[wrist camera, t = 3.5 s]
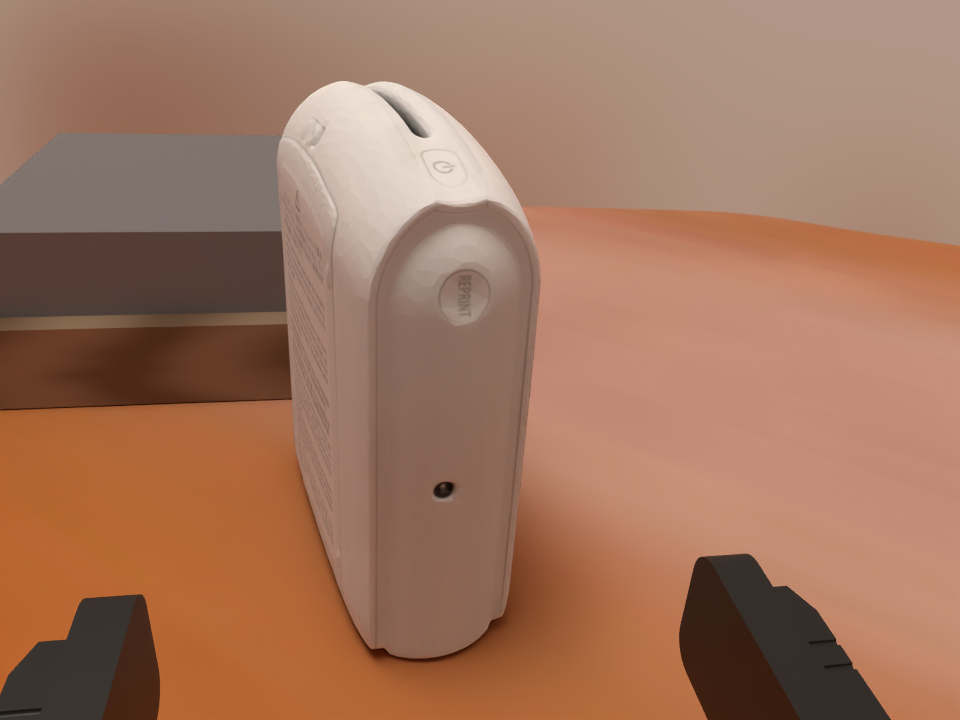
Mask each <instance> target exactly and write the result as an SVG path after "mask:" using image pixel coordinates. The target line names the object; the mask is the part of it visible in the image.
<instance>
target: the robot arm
mask: <svg viewBox="0 0 960 720" xmlns="http://www.w3.org/2000/svg"><path fill="white" fill-rule="evenodd" d="M679 643H680V652H681V657H682V661H683V665H684V668H685V670H686V673H687V675H688V677H689V680H690V682H691V684H692V686H693V688H694V691H695V693H696V695H697V697H698V699H699V701H700V704H701V706H702V708H703V710H704V712H705V715H706V717H707V719H708V720H891V719H890V718H889V716H888V715H887V713H886V712H885V710H884V709H883V707H882V706H881V704H880V703H879V701H878V700H877V699H876V697H875V696H874V694H873V693H872V691H871V690H870V688H869V687H868V685H867V684H866V682H865V681H864V679H863V678H862V676H861V675H860V673H859V672H858V671H857V669H853V667H852V662H851V660H850V659H849V657H848V656H847V654H846V653H845V651H844V650H843V648H842V647H841V645H837V643H836V638H835V637H834V635H833V634H832V632H831V631H830V629H829V628H828V626H827V625H826V623H825V622H824V620H823V619H822V617H821V616H820V615H819V613H818V612H817V610H816V609H814V608H813V607H812V606H811V605H810V604H808V603H807V602H806V601H805V600H803V599H802V598H801V597H800V596H799V595H797V594H796V593H795V592H794V591H792V590H791V589H790V588H789V587H787V586H779V587H773V586H772V585H771V583H770V581H769V580H768V578H767V577H766V575H765V574H764V572H763V570H762V569H761V567H760V566H759V564H758V563H757V561H756V560H755V559H754V558H753V557H752V556H751V555H749V554H735V555H721V556H706V557H700V558H698V560H697V561H696V563H695V565H694V569H693V573H692V578H691V582H690V586H689V591H688V595H687V599H686V604H685V608H684V612H683V617H682V621H681V625H680V632H679ZM159 699H160V677H159V669H158V663H157V658H156V653H155V647H154V642H153V637H152V632H151V626H150V621H149V616H148V611H147V605H146V601H145V598H144V597H143V595H141V594H139V595H125V596H110V597H96V598H85V599H83V600H82V601H81V603H80V604H79V606H78V609H77V611H76V614H75V617H74V620H73V623H72V625H71V628H70V631H69V634H68V637H67V639H66V640H56V641H44V642H38V643H37V644H36V645H35V646H34V648H33V649H32V650H31V651H30V652H29V653H28V654H27V655H26V656H25V657H24V659H23V660H22V661H21V662H20V663H19V664H18V665H17V666H16V667H15V669H14V670H13V671H12V672H11V673H10V674H9V675H8V678H7V680H6V682H5V685H4V687H3V690H2V692H1V694H0V720H157V716H158V710H159Z"/></svg>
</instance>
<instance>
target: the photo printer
mask: <svg viewBox="0 0 960 720" xmlns="http://www.w3.org/2000/svg"><path fill="white" fill-rule="evenodd" d="M277 176H278V190H279V204H280V217H281V230H282V244H283V258H284V275H285V291H286V307H287V324H288V340H289V357H290V374H291V392H292V409H293V427H294V442H295V448H296V454H297V458H298V462H299V466H300V470H301V473H302V477H303V481H304V487H305V489H306V491H307V494H308V497H309V500H310V504H311V507H312V510H313V513H314V516H315V519H316V523H317V526H318V529H319V532H320V535H321V538H322V541H323V544H324V547H325V550H326V553H327V556H328V559H329V561H330V564H331V567H332V570H333V572H334V575H335V578H336V581H337V584H338V587H339V589H340V592H341V594H342V597H343V599H344V602H345V604H346V607H347V609H348V611H349V614H350V616H351V618H352V620H353V622H354V624H355V626H356V628H357V630H358V631H359V633H360V635H361V636H362V638H363V640H364V641H365V643H366V644H367V645H368V646H369V647H370V648H371V649H378V648H385V650H386V651H387V652H388V653H389V654H391V655H394V656H397V657H404V658H416V659H418V658H432V657H439V656H444V655H447V654H451V653H453V652H456V651H458V650H461V649H463V648H465V647H467V646H468V645H470V644H472V643H473V642H474V641H476V640H477V639H478V638H480V637H481V636H482V635H483V634H484V633H485V631H486V630H487V629H488V626H489V623H490V621H491V620H493V619H497V618H499V617H501V616H502V615H503V613H504V610H505V607H506V603H507V598H508V593H509V586H510V579H511V567H512V560H513V552H514V543H515V532H516V523H517V513H518V503H519V495H520V486H521V475H522V466H523V455H524V446H525V437H526V427H527V417H528V407H529V398H530V389H531V378H532V368H533V360H534V349H535V337H536V325H537V315H538V305H539V294H540V283H541V280H540V262H539V258H538V253H537V249H536V245H535V242H534V238H533V235H532V232H531V229H530V227H529V224H528V221H527V219H526V217H525V214H524V212H523V210H522V207H521V205H520V204H519V201H518V200H517V198H516V196H515V194H514V192H513V190H512V189H511V187H510V185H509V184H508V182H507V181H506V180H505V178H504V176H503V175H502V173H501V172H500V170H499V168H498V167H497V166H496V165H495V163H494V162H493V161H492V159H491V158H490V157H489V155H488V154H487V153H486V152H485V150H484V149H483V148H482V147H481V145H480V144H479V143H478V142H477V141H476V140H475V138H474V137H473V136H472V135H471V134H470V133H469V132H468V131H467V130H466V129H465V128H464V127H463V126H462V125H461V124H460V123H459V122H458V121H456V120H455V119H454V118H453V117H452V116H451V115H450V114H448V113H447V112H446V111H445V110H443V109H442V108H441V107H439V106H438V105H437V104H435V103H434V102H432V101H431V100H429V99H428V98H426V97H424V96H423V95H421V94H419V93H417V92H415V91H413V90H411V89H409V88H406V87H404V86H402V85H400V84H396V83H391V82H376V83H372V84H369V85H366V86H362V85H359V84H356V83H352V82H347V81H340V82H335V83H332V84H329V85H327V86H325V87H323V88H321V89H319V90H318V91H316V92H314V93H313V94H311V95H310V96H309V97H308V98H307V99H306V100H305V101H304V102H303V103H302V104H301V105H300V106H299V107H298V108H297V109H296V111H295V112H294V113H293V115H292V117H291V118H290V120H289V122H288V124H287V125H286V128H285V130H284V132H283V135H282V138H281V140H280V142H279V147H278V152H277Z"/></svg>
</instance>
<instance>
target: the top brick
mask: <svg viewBox="0 0 960 720" xmlns="http://www.w3.org/2000/svg"><path fill="white" fill-rule="evenodd" d="M281 138H282V136H266V135H265V136H263V135H262V136H261V135H186V134H184V135H183V134H182V135H181V134H107V133H105V134H103V133H59V134H57V135H56V136H55V137H54V138H53V139H52V140H51V141H50V142H48V143H47V144H46V145H45V146H44V147H43V148H42V149H40V150H39V151H38V152H37V153H36V154H35V155H34V156H32V157H31V158H30V159H29V160H28V161H27V162H26V163H25V164H23V165H22V166H21V167H20V168H19V169H18V170H17V171H15V172H14V173H13V174H12V175H11V176H10V177H9V178H8V179H6V180H5V181H4V182H3V183H2V184H1V185H0V318H4V317H52V316H100V315H147V314H195V313H243V312H287V307H286V291H285V275H284V258H283V244H282V230H281V217H280V204H279V190H278V176H277V152H278V147H279V142H280V140H281Z"/></svg>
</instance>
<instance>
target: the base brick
mask: <svg viewBox="0 0 960 720" xmlns="http://www.w3.org/2000/svg"><path fill="white" fill-rule="evenodd" d="M289 398H292V392H291V374H290V357H289V340H288V324H287V312H243V313H195V314H147V315H100V316H52V317H4V318H0V409H22V408H49V407H75V406H102V405H129V404H155V403H182V402H209V401H235V400H262V399H289Z"/></svg>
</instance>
